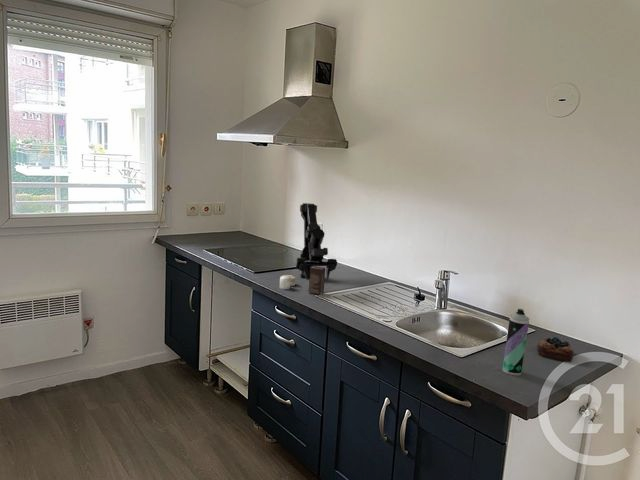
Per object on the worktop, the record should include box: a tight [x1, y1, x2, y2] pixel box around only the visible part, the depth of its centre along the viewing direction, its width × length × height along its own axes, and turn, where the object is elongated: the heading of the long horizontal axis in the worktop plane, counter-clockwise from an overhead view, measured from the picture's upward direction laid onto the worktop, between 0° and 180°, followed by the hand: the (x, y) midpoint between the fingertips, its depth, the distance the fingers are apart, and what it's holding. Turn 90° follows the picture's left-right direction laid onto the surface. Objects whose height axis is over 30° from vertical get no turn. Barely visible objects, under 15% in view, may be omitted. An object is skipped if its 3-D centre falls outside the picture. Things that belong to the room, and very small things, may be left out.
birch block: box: [281, 274, 296, 287], centre depth 231 cm, size 5×5×4 cm
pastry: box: [536, 336, 574, 363], centre depth 165 cm, size 11×12×6 cm
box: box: [308, 266, 326, 296], centre depth 219 cm, size 6×4×12 cm
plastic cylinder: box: [279, 275, 291, 290], centre depth 224 cm, size 5×5×5 cm
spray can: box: [502, 308, 530, 376], centre depth 147 cm, size 6×6×20 cm
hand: (317, 279), depth 217 cm, fingers open, 9 cm apart
